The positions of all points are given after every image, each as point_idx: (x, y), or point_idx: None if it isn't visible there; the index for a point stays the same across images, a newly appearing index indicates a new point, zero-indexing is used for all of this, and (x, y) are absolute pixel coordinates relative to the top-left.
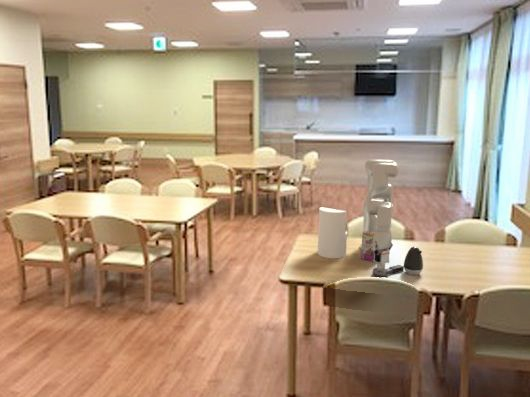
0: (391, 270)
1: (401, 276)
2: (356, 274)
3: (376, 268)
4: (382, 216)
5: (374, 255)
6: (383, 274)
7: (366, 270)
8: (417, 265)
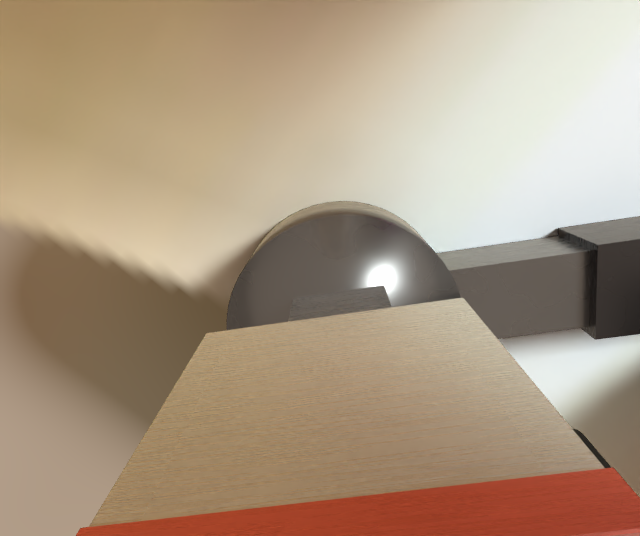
0: (543, 329)
1: (568, 418)
2: (43, 139)
3: (334, 243)
4: None
5: (151, 449)
6: None
7: (280, 44)
8: None
